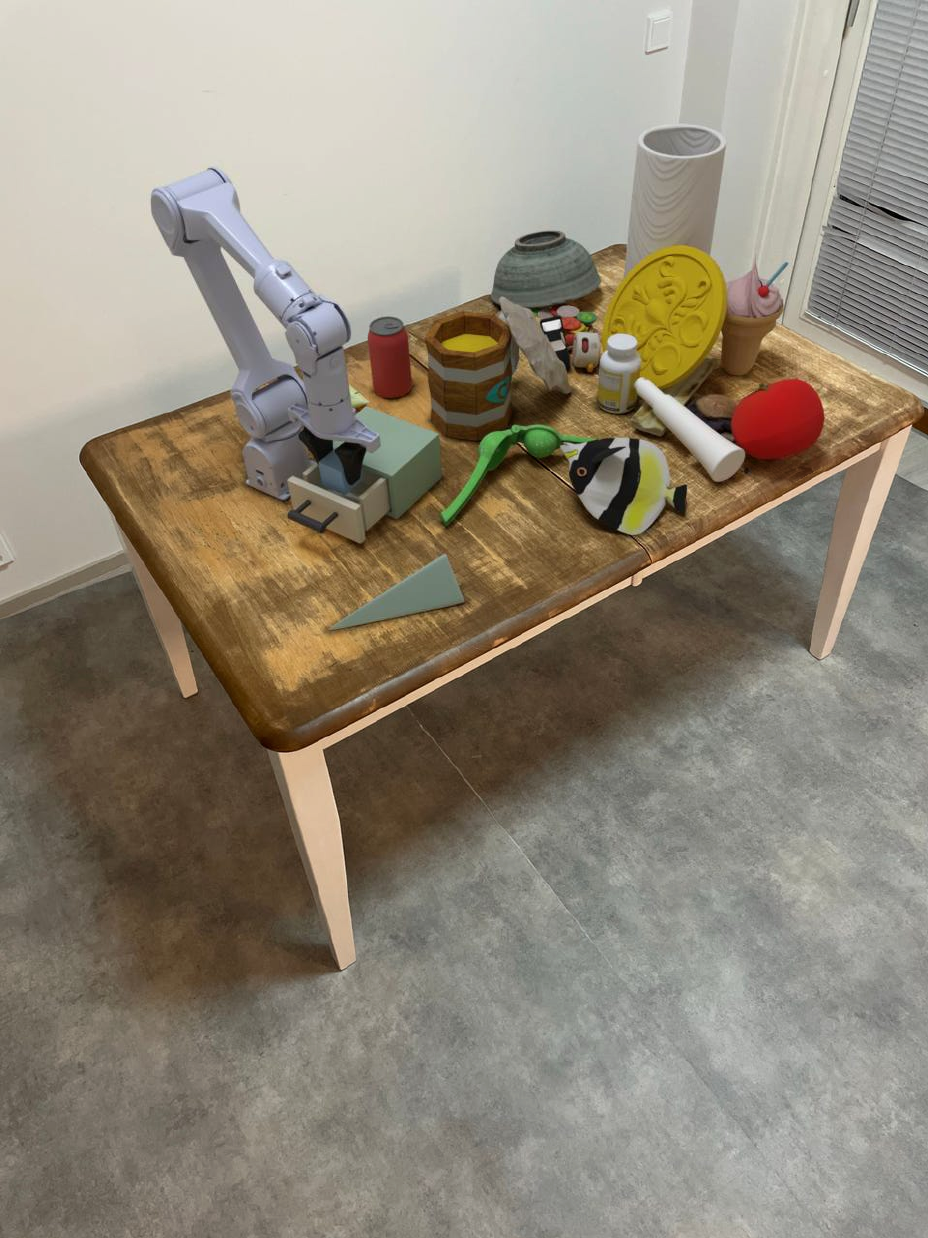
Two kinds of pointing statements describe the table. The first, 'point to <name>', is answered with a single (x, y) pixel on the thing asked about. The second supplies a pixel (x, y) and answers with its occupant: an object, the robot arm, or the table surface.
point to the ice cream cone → (748, 319)
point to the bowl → (544, 271)
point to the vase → (674, 190)
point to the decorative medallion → (669, 312)
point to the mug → (471, 374)
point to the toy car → (556, 338)
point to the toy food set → (568, 320)
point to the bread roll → (715, 413)
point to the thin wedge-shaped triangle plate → (411, 595)
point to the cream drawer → (339, 504)
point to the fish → (622, 481)
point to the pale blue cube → (335, 474)
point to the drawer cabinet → (402, 458)
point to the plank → (679, 391)
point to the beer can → (389, 357)
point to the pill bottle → (619, 374)
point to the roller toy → (586, 350)
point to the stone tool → (535, 345)
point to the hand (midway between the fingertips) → (341, 475)
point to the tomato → (778, 419)
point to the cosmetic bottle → (693, 432)
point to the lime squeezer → (494, 449)
